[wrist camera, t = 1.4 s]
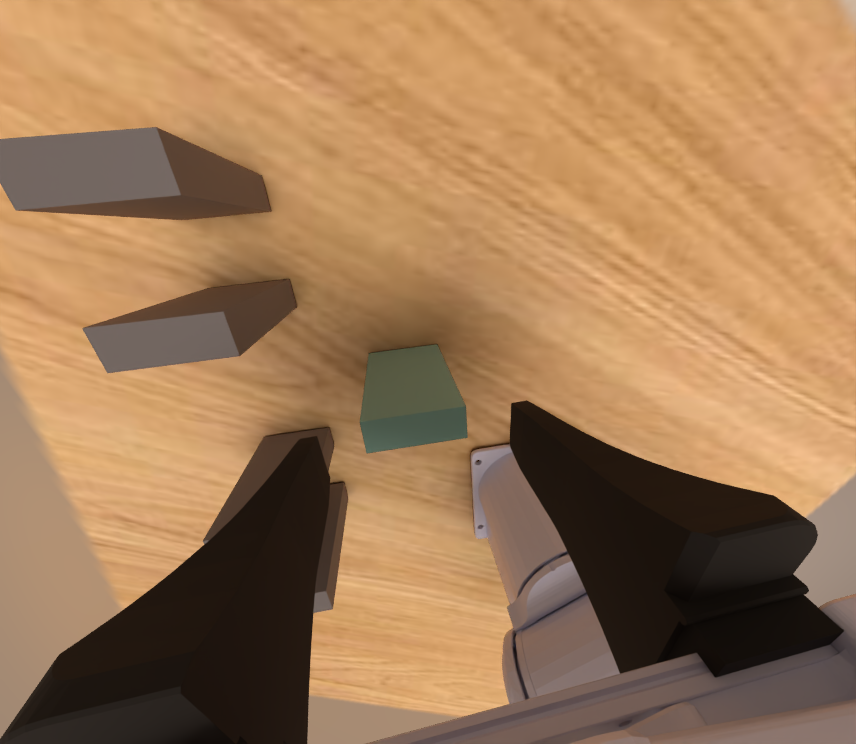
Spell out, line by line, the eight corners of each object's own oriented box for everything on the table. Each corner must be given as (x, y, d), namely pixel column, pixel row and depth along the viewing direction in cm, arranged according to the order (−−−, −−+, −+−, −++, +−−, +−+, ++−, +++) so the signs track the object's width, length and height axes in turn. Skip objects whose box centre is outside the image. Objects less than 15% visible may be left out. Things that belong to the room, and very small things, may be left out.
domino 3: (334, 446, 23) (310, 547, 15) (270, 455, 22) (215, 564, 15) (329, 427, 22) (301, 524, 15) (263, 437, 22) (202, 541, 14)
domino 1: (271, 211, 16) (181, 195, 9) (182, 220, 16) (15, 210, 9) (261, 175, 16) (156, 127, 8) (168, 183, 15) (-24, 140, 8)
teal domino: (439, 366, 21) (467, 437, 14) (373, 375, 21) (366, 453, 14) (437, 344, 20) (465, 406, 13) (368, 353, 20) (359, 422, 13)
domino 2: (296, 307, 18) (239, 356, 11) (218, 316, 18) (107, 373, 11) (289, 278, 18) (223, 311, 11) (207, 288, 18) (82, 328, 10)
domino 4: (348, 498, 25) (332, 609, 17) (290, 507, 24) (250, 624, 17) (343, 482, 24) (326, 591, 17) (284, 492, 24) (240, 606, 16)
